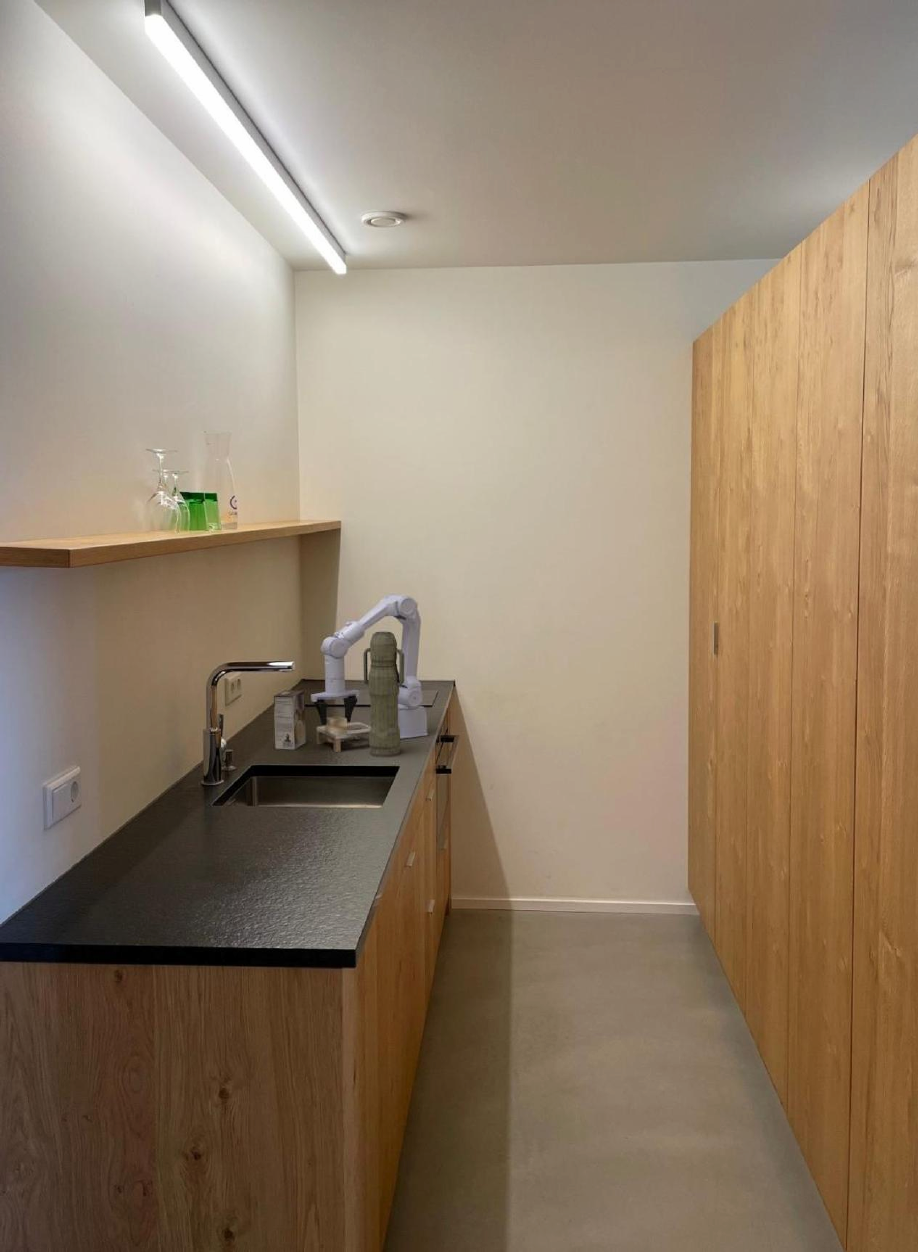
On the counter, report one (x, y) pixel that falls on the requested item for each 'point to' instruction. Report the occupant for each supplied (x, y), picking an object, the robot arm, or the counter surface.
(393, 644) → the thermos
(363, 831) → the counter surface
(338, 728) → the peg
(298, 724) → the coffee box
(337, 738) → the keyhole stand
